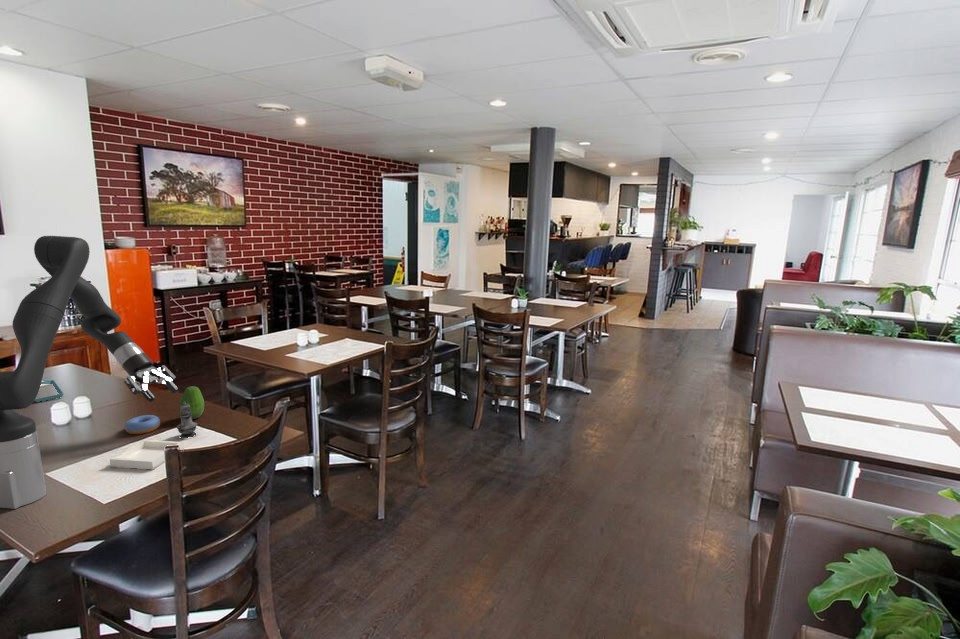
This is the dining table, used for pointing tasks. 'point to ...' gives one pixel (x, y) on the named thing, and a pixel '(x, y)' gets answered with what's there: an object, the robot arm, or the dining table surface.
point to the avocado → (193, 401)
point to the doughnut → (142, 424)
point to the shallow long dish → (52, 395)
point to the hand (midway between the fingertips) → (164, 396)
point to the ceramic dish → (143, 455)
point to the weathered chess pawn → (186, 422)
